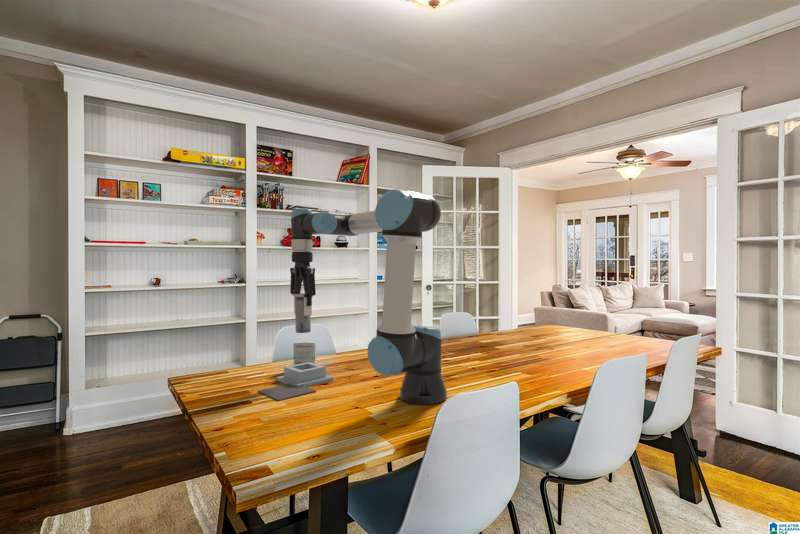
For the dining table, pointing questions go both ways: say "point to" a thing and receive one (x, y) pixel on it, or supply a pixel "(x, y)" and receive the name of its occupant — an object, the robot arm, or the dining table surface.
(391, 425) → the dining table surface
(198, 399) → the dining table surface
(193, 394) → the dining table surface
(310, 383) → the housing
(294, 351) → the ink box
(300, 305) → the grey capped cylinder
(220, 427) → the dining table surface
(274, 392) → the mat
